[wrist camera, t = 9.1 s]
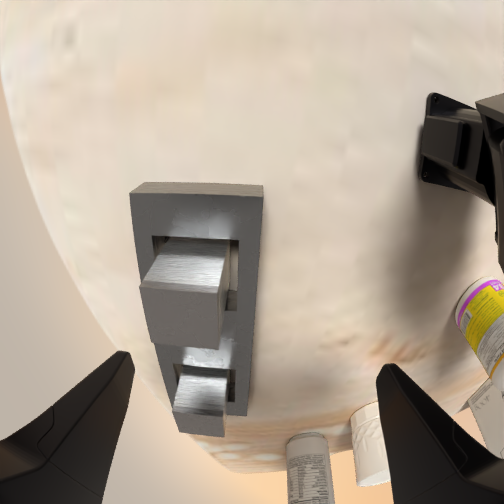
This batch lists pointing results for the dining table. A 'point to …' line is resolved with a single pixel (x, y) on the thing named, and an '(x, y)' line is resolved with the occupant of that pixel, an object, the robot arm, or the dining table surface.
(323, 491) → the energy drink can
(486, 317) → the supplement bottle
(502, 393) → the cereal box
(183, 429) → the brushed grey metal block
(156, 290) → the grey metal rectangular block
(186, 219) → the rail
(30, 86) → the dining table surface
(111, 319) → the dining table surface
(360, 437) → the white cup
